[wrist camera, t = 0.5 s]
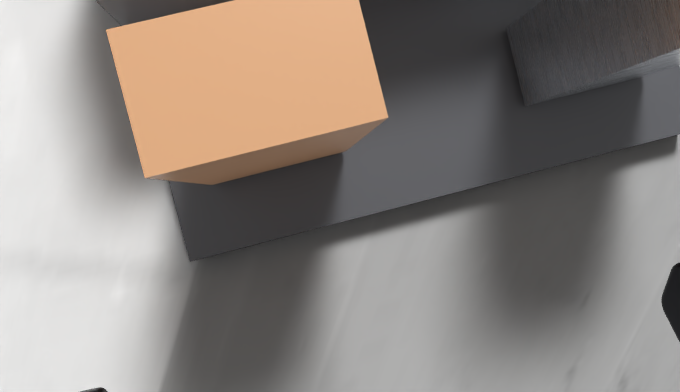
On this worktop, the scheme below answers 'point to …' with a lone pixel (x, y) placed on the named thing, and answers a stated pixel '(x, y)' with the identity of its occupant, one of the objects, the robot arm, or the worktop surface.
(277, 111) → the tan rectangular block
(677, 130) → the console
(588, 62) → the light grey block
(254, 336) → the worktop surface
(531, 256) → the worktop surface
